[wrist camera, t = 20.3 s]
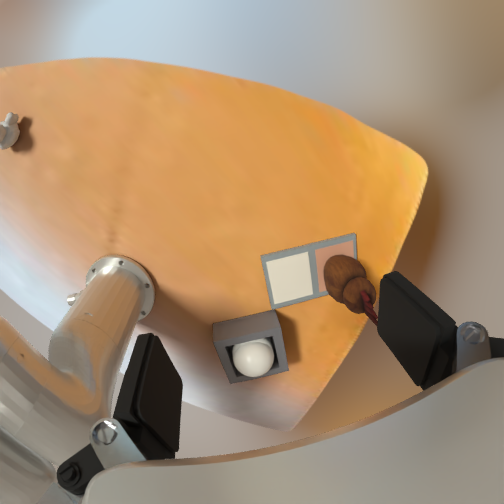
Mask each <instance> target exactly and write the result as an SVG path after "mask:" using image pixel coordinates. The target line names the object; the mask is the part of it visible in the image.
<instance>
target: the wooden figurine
mask: <svg viewBox="0 0 504 504" xmlns="http://www.w3.org/2000/svg"><path fill="white" fill-rule="evenodd" d="M323 274H324V282H325V287H326V290H327V292H328V293H329V295H330V296H331V297H333V298H334V299H335V300H336V301H337V302H340V303H343V304H345V305H346V306H347V308H348V309H349V310H350V311H352V312H354V313H358V314H359V313H365V314H366V315H367V316H368V317H369V318H370V319H371V320H372V321H373V323H374V324H375V325H376V326H377V325H378V322H377V320H376V319H377V318H378V317H377V315H376V313H375V312H374V310H373V308H374V307H373V304H374V303H375V300H376V291H375V288H374V286H373V285H372V284H371V283H370V281H369V280H367V279H366V272H365V269H364V268H363V266H362V265H361V264H360V263H359V262H358V261H357V260H356V259H354V258H352V257H350V256H346V255H343V254H342V255H334V256H332V257H330V258H329V259H328V260H327V261H326V263H325V266H324V270H323Z"/></svg>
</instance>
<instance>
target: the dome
mask: <svg viewBox="0 0 504 504" xmlns="http://www.w3.org/2000/svg"><path fill="white" fill-rule="evenodd" d="M232 355H233V362H234V365H235V367H236V368H237V370H238V371H239V372H241V373H242V374H244V375H246V376H249V377H257V376H261V375H263V374H265V373H266V372H268V371H269V369H270V368H271V367H272V364H273V361H274V353H273V349H272V345H271V342H270V338H269V337H266V338H262V339H258V340H253V341H249V342H245V343H240V344H236V345H232Z"/></svg>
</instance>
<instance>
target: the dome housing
mask: <svg viewBox="0 0 504 504" xmlns="http://www.w3.org/2000/svg"><path fill="white" fill-rule="evenodd" d="M266 337H269V338H270V342H271V345H272V349H273V353H274V361H273V364H272V367H271V368H270V369H269V371H268V372H266V373H265V374H263V375H261V376H257V377H249V376H246V375H244V374H242V373H241V372H239V371H238V370H237V368H236V367H235V365H234V362H233V355H232V345H236V344H240V343H245V342H249V341H253V340H258V339H262V338H266ZM213 343H214V346H215V348H216V351H217V353H218V356H219V358H220V360H221V363H222V365H223V368H224V370H225V372H226V375H227V377H228V379H229V382H230V384H232V383H237V382H242V381H247V380H252V379H256V378H261V377H265V376H269V375H273V374H278V373H281V372H285V371H289V368H288V363H287V358H286V352H285V347H284V342H283V336H282V331H281V326H280V323H279V320H278V318H277V315H276V312H275V309H274V310H270V311H266V312H262V313H258V314H254V315H249V316H245V317H241V318H236V319H232V320H228V321H223V322H218V323H214V324H213Z"/></svg>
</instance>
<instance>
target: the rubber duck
mask: <svg viewBox="0 0 504 504" xmlns="http://www.w3.org/2000/svg"><path fill="white" fill-rule="evenodd" d="M18 118H19V116H18V114H13V113H12V112H10V113H8V114H7V117H6V119H5V121H2V122H0V149H7V148H9V147H11V146H12V145H13V144H14V143H15V142H16V141H17V139H18V137H19V134H20V130H19V127H18V125H17V121H18Z"/></svg>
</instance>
